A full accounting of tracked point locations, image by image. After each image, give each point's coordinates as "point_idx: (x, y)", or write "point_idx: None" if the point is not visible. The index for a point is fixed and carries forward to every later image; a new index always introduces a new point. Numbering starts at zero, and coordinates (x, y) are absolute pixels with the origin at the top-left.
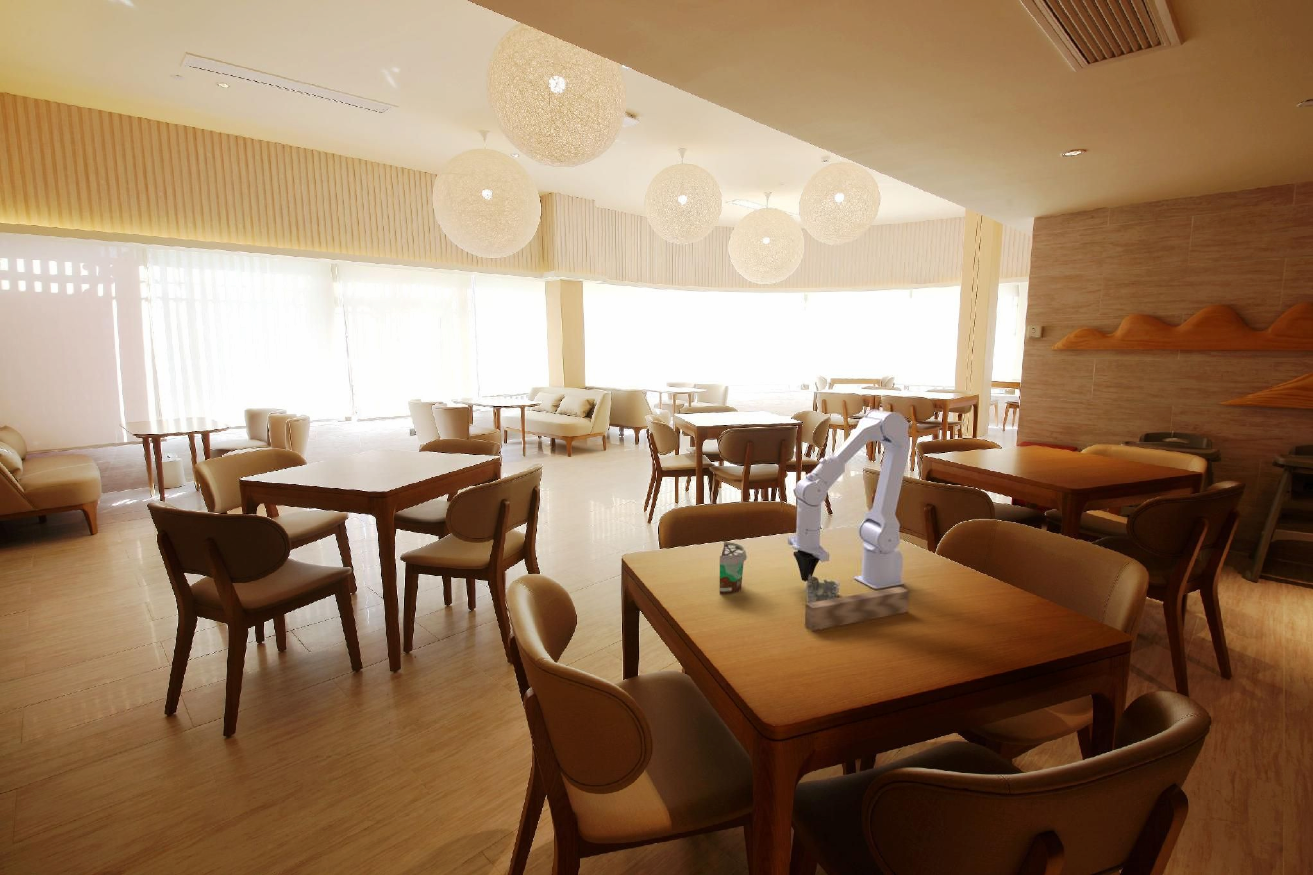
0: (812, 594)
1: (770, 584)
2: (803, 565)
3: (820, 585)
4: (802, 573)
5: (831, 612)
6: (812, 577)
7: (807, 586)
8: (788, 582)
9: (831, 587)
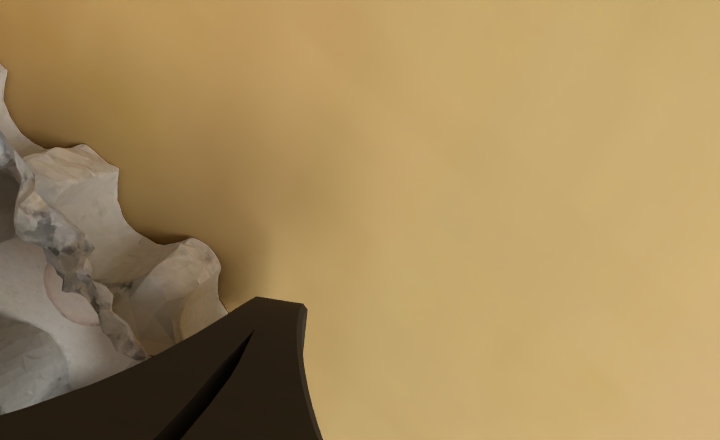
0: (132, 230)
1: (557, 30)
2: (85, 397)
3: (129, 365)
4: (236, 332)
5: None
6: None
7: (18, 170)
8: (482, 247)
9: None
